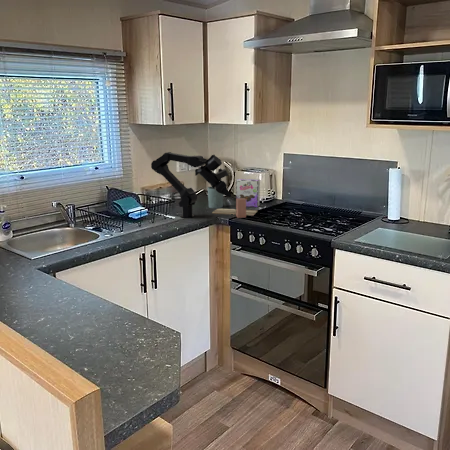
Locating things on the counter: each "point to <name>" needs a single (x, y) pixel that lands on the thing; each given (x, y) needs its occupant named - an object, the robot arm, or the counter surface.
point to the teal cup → (215, 198)
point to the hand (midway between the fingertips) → (229, 194)
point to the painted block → (241, 207)
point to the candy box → (248, 191)
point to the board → (233, 211)
